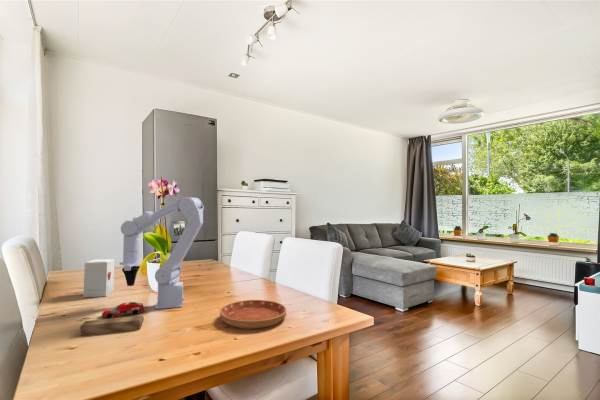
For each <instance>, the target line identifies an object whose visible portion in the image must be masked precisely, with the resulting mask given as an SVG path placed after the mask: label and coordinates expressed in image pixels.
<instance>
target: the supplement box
mask: <svg viewBox="0 0 600 400" xmlns="http://www.w3.org/2000/svg"><path fill="white" fill-rule="evenodd" d="M83 275H84V277H83V294H82V295H83V298H99V297H100V298H101V297H102V298H103V297H107V296H109V295H110V294H112V293H113V292H114V288H115V287H114V283H115V258H97V259H96V258H95V259H91V260H88V261H85V262H84V274H83Z"/></svg>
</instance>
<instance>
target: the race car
mask: <svg viewBox="0 0 600 400" xmlns="http://www.w3.org/2000/svg"><path fill="white" fill-rule="evenodd" d="M144 311H145V306H144V304H143V303H141V302H136V301H129V302H122V303H121V304H118V305H116V306H113V307H110V308H107V309H104V310H103V311H102V313H101V316H102V318H104V319H113V318H119V317H123V316H124V317H126V316H131V315H133V316H134V315H138V314H141V313H143V312H144Z"/></svg>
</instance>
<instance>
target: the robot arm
mask: <svg viewBox="0 0 600 400" xmlns="http://www.w3.org/2000/svg"><path fill="white" fill-rule="evenodd" d="M204 208H205V206H204V204H203V202H202V200H201V199H200V198H198V197H191V196H182V198H178V199H175V200H174V201H172V202H170V203H168V204H167V205H165V206H164V207H162V208H159V209H158V210H156V211H150V210H149V211H144V212H143V213H142V214H141V215H139V216H137V217H133V218H132V220H126V221H124V222H123V223H122V224H121V226H120V232H121V234H122V235H123V244H122V245H123V246H122V248H123V249H122V250H123V252H122V254H123V255H122V257H123V258H122V261H120V262H119V265H120V266H123V267H122V269H121V271H122V273H123V274H124V277H125V281H126V286H127V287H134V285H135V282H136V278H137V274H138V273H139V270H140V267H141V266H140V264H141V261H140V254H141V253H140V249H141V247H140V246H141V235H142V233H143V232H144V231H145V230H147V229H150V228H151V227H153V226H155V225H157V224H158V222H159V220H161V219H162V218H165V217H167V216H169V215H172V214H174V213H176V212H181V213H182V215H184V217H185V219H186V221H187V224H186V226H185V228H184V229H183V231H182V234H181V235H180V236H179V239H178V241H177V242H176V244H175V246H174V248H173V250H172V251H171V253H170V254H169V256H168V258H167V259H166V260H165V261H164V262H163V264H162V265H161V266H160V268H158V269H157V270H156V271H155V273H154V279H155V281H156V282H157V303H156V304H155V307H154V308H155V310H158V309H159V310H160V309H161V310H162V309H170V308H171V309H173V308H182V307H183V302H184V299H185V298H184V297H185V296H184V282H183V281H179V280H178V278H179V277H180V275H181V269H182V266H183V261H184V259H185V257H186V256H187V253H188V252H189V249H190V248H191V246H192V244H193V243H194V241H195V239H196V238H197V235H198V234H199V232H200V230H201V228H202V226H203V224H204Z"/></svg>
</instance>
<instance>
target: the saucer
mask: <svg viewBox="0 0 600 400" xmlns="http://www.w3.org/2000/svg"><path fill="white" fill-rule="evenodd" d="M219 314H220V315H219V317H220V319H221V321H223V322H224V323H226V324H227V325H229V326H231V327H235V328H238V329H246V328H247V330H249V329H253V330H254V328H255V329H263V328H267V327H271V326H273V325H276V324H277V323H279V322H280V321H281V322H282V321H283V320H284V319H285V318H286V316H287V308H286V306H285V305H283V304H281V303H279V302H276V301H272V300H265V299H249V300H247V299H245V300H239V301H234V302H232V303H231V302H230V303H229V304H226V305H224V306H223V307H221V309H220V310H219Z"/></svg>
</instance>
